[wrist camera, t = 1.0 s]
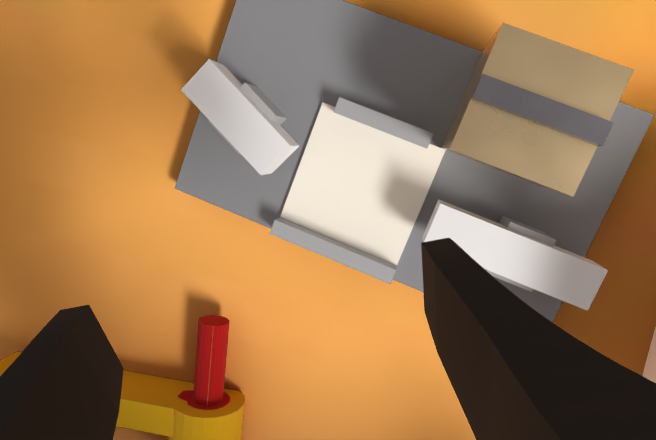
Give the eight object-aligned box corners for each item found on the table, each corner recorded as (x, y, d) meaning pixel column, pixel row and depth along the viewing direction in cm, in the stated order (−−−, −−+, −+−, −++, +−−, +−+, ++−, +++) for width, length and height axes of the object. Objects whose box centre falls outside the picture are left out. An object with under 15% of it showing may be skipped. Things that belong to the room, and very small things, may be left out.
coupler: (578, 89, 23) (640, 67, 17) (534, 184, 24) (577, 198, 18) (481, 53, 23) (505, 19, 17) (441, 148, 24) (450, 149, 18)
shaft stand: (644, 116, 24) (688, 110, 20) (537, 334, 26) (559, 367, 22) (254, -28, 26) (226, -59, 22) (183, 186, 28) (145, 193, 24)
